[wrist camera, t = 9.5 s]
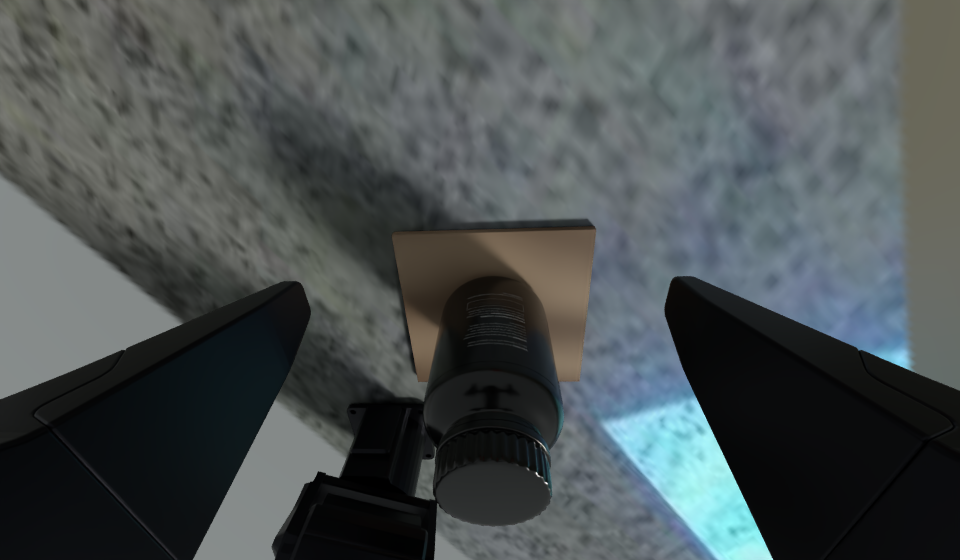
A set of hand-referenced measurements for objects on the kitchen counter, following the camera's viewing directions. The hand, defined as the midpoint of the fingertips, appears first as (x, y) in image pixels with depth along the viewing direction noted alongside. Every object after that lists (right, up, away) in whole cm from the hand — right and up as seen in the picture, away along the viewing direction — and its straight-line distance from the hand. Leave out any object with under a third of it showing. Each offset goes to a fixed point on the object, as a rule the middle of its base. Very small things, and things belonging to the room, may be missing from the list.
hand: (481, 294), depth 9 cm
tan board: (+1, -2, +16) cm, 17 cm away
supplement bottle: (+1, -2, +16) cm, 16 cm away
